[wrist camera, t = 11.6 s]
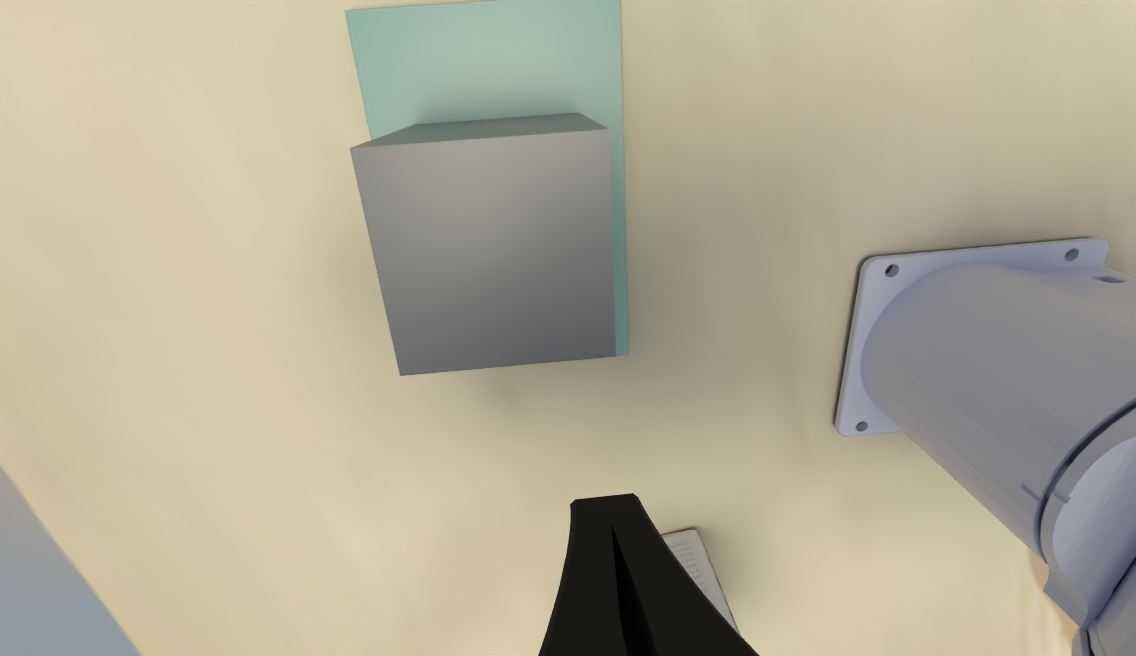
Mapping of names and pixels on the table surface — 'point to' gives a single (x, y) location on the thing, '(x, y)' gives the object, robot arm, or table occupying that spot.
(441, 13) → the teal base stand
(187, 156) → the table surface
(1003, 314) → the robot arm
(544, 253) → the dark grey block
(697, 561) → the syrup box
